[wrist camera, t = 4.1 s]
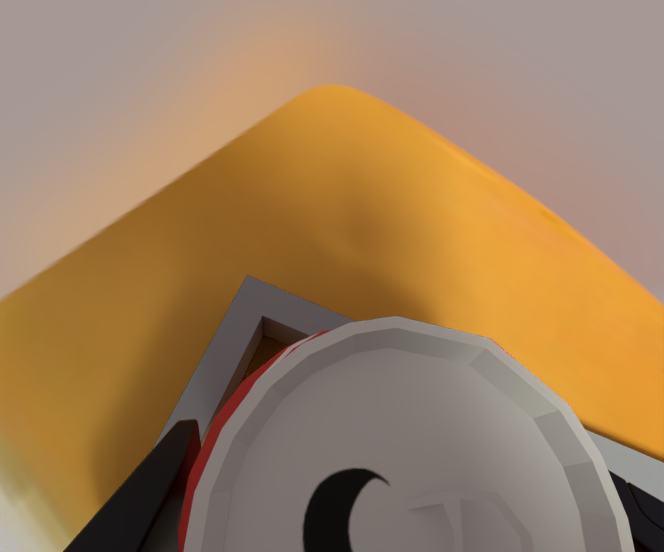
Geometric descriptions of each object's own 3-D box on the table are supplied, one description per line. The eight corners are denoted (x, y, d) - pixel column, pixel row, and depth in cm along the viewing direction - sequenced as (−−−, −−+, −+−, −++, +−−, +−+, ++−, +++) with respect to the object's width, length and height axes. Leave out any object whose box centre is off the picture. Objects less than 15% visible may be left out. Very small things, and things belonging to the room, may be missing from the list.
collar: (396, 688, 12) (428, 754, 10) (112, 564, 13) (72, 596, 10) (463, 389, 17) (498, 381, 14) (250, 299, 17) (247, 274, 14)
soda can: (382, 397, 16) (624, 311, 5) (380, 553, 14) (797, 992, 3) (250, 385, 15) (202, 261, 4) (226, 547, 13) (19, 1073, 2)
